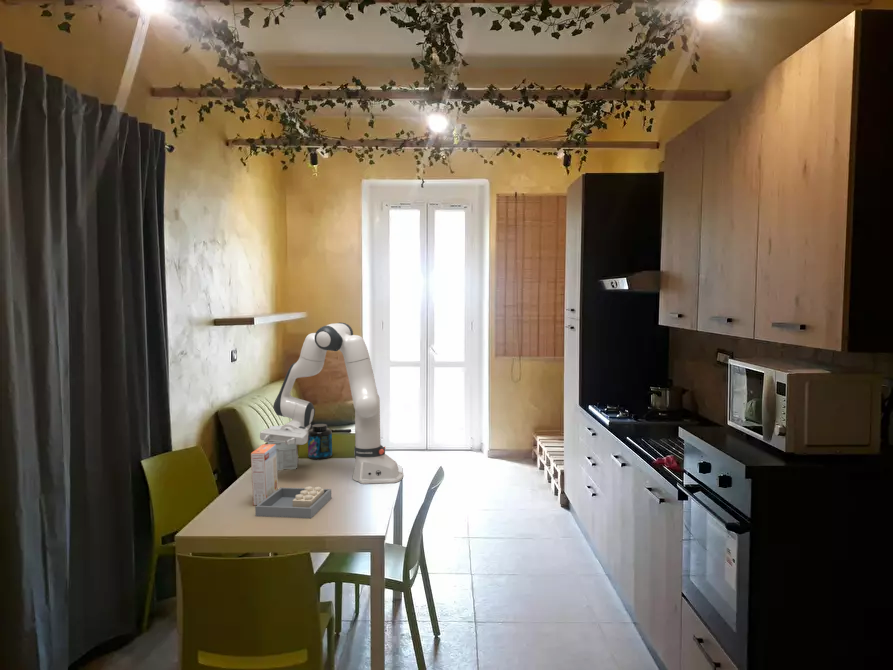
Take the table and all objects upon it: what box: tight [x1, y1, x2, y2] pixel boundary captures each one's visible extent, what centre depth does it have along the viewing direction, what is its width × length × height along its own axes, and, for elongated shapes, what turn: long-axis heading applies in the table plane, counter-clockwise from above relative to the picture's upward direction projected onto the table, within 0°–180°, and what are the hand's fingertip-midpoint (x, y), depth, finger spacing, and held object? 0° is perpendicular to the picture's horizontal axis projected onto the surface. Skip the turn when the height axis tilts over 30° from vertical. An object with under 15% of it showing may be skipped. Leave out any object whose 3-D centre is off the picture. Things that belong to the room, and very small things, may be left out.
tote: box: [254, 487, 332, 519], centre depth 224 cm, size 21×22×4 cm
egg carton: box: [293, 485, 325, 508], centre depth 223 cm, size 7×14×6 cm, turn 172°
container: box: [307, 423, 333, 460], centre depth 299 cm, size 12×12×16 cm
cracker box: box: [250, 443, 279, 506], centre depth 235 cm, size 14×6×21 cm, turn 178°
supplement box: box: [267, 425, 299, 471], centre depth 285 cm, size 17×13×18 cm
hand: (276, 441), depth 251 cm, fingers open, 8 cm apart
